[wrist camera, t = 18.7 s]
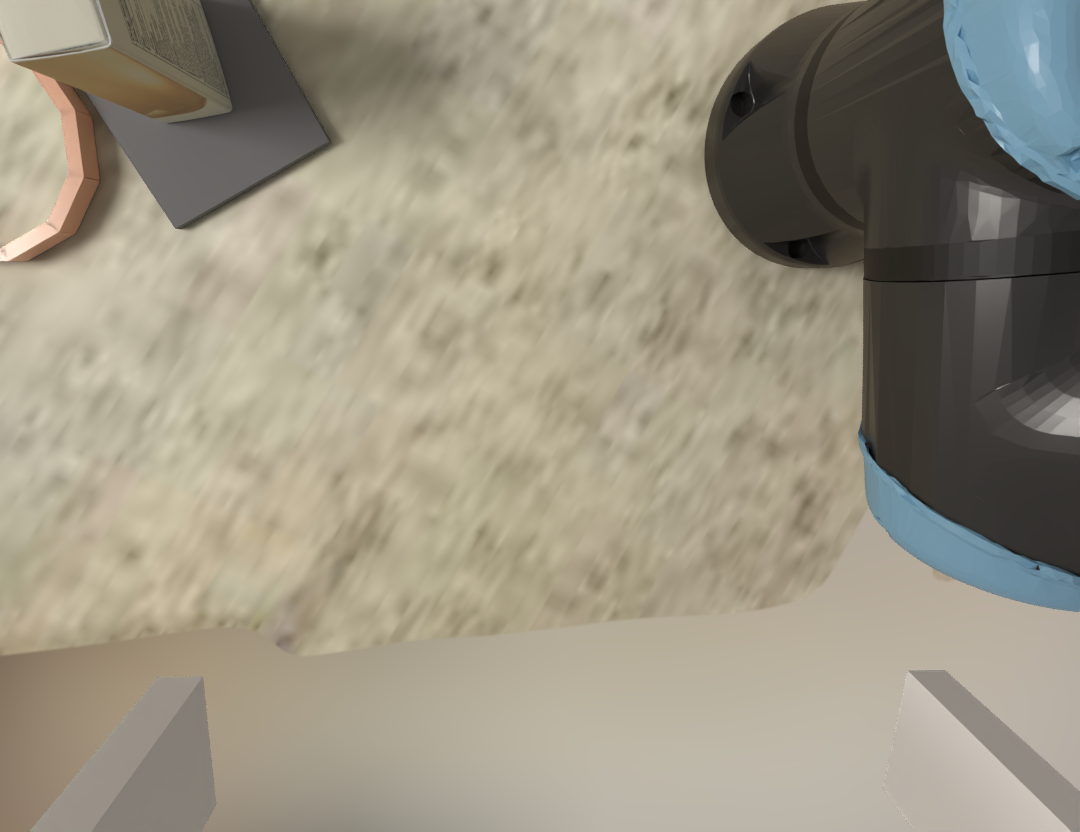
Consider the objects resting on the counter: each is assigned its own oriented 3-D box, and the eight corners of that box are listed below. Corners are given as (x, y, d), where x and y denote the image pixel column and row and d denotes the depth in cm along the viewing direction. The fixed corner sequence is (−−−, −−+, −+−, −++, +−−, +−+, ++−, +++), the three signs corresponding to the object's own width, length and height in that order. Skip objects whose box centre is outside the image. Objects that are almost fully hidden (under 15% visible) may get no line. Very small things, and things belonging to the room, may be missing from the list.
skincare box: (126, 11, 35) (-67, -123, 23) (202, -4, 35) (49, -144, 23) (165, 131, 36) (3, 64, 24) (237, 117, 36) (111, 44, 24)
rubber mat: (183, -115, 34) (178, -122, 33) (331, 143, 37) (329, 141, 37) (18, -16, 34) (10, -21, 34) (180, 229, 38) (175, 228, 37)
